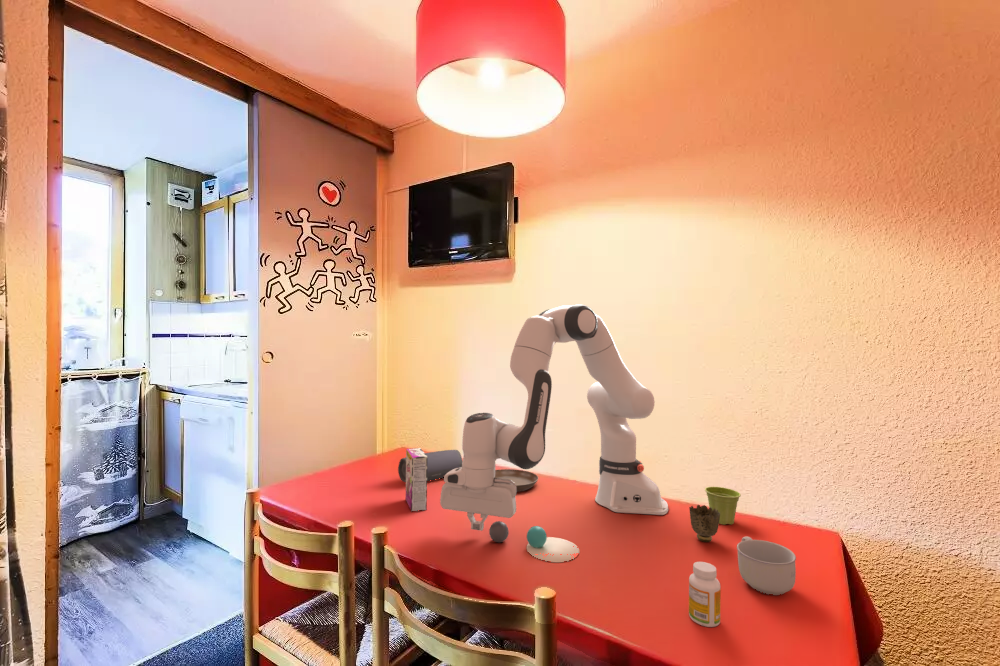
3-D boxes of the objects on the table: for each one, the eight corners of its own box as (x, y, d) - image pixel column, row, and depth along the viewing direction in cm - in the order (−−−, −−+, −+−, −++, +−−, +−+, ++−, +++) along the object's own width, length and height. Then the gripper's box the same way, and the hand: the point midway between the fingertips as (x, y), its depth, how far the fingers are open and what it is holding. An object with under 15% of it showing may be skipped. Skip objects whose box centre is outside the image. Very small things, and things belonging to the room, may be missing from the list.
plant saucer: (480, 476, 169) (480, 467, 169) (534, 476, 170) (534, 468, 170) (481, 495, 148) (481, 485, 148) (542, 495, 150) (542, 485, 150)
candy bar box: (404, 499, 141) (405, 448, 142) (419, 498, 143) (421, 447, 144) (410, 512, 131) (412, 457, 131) (427, 510, 133) (428, 455, 133)
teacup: (805, 605, 88) (805, 564, 88) (746, 598, 90) (746, 558, 90) (776, 570, 101) (776, 535, 102) (725, 564, 104) (726, 530, 104)
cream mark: (582, 542, 114) (582, 541, 114) (575, 566, 101) (575, 565, 101) (533, 534, 117) (533, 534, 117) (520, 557, 105) (520, 556, 105)
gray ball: (496, 515, 116) (491, 532, 116) (488, 522, 111) (484, 540, 112) (513, 522, 114) (508, 540, 115) (506, 531, 110) (501, 549, 110)
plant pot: (709, 512, 136) (709, 484, 136) (743, 520, 130) (743, 491, 130) (700, 521, 129) (701, 491, 129) (736, 530, 123) (736, 499, 123)
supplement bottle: (711, 610, 85) (711, 559, 86) (726, 628, 80) (726, 573, 80) (683, 610, 85) (684, 559, 85) (697, 628, 80) (697, 573, 80)
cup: (702, 547, 112) (702, 516, 112) (682, 535, 119) (683, 505, 119) (726, 545, 114) (726, 513, 114) (706, 533, 121) (706, 503, 121)
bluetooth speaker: (449, 471, 174) (450, 446, 174) (463, 477, 167) (463, 450, 167) (396, 482, 159) (397, 454, 160) (409, 488, 152) (409, 459, 153)
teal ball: (526, 536, 114) (544, 546, 112) (521, 544, 109) (540, 555, 108) (533, 519, 113) (551, 528, 112) (529, 526, 109) (547, 536, 107)
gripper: (519, 477, 116) (518, 530, 115) (448, 468, 122) (446, 519, 121) (513, 484, 109) (512, 540, 109) (438, 475, 116) (437, 528, 115)
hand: (477, 529), depth 115 cm, fingers closed
